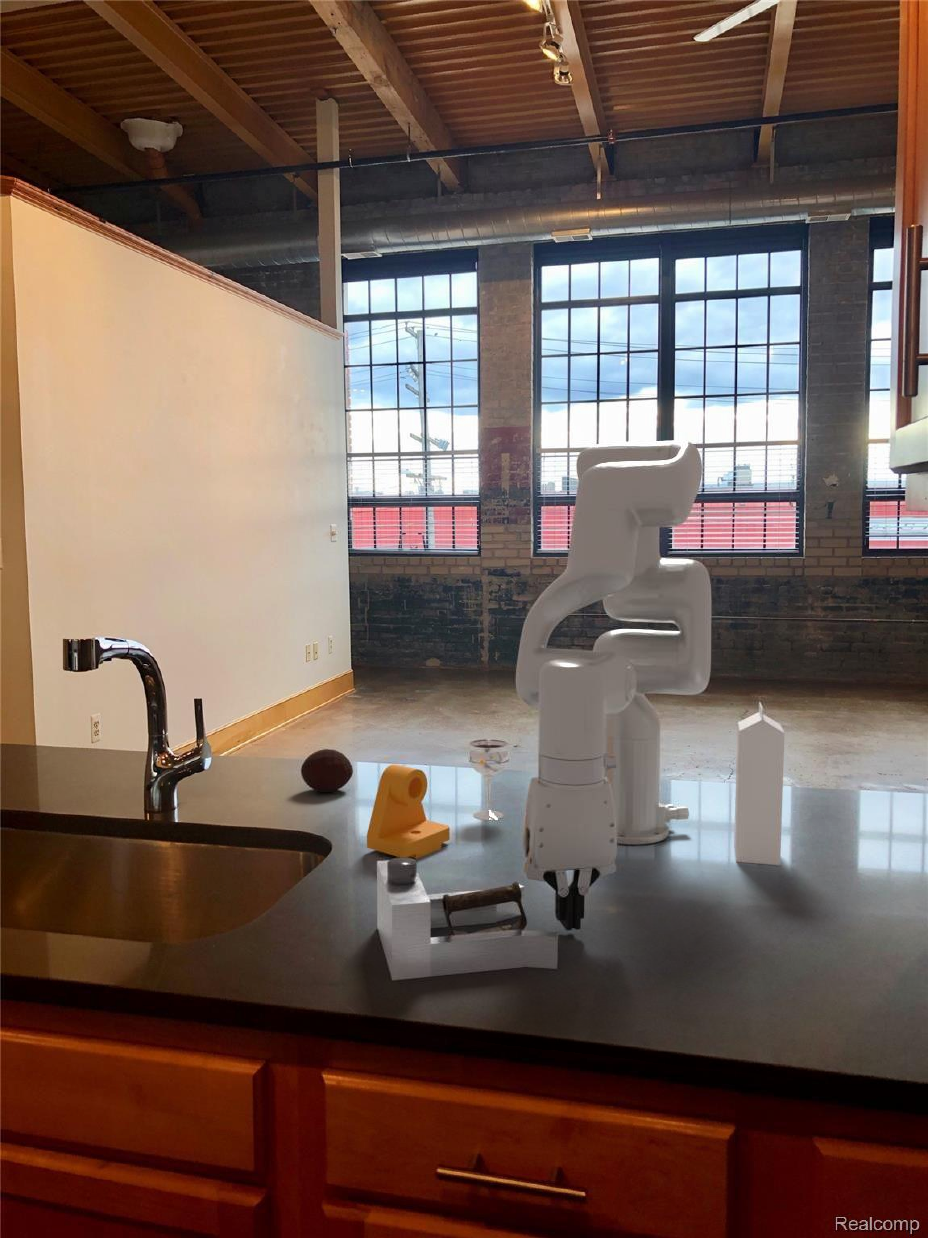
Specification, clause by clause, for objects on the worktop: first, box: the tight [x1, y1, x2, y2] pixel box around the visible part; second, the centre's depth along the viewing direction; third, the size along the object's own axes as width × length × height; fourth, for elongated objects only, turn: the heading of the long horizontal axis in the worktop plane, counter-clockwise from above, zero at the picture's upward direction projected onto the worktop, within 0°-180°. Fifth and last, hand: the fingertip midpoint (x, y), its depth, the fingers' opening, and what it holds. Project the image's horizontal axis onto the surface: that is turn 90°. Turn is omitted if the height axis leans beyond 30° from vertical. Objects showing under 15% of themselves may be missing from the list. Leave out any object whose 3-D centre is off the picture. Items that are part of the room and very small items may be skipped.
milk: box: [733, 701, 785, 866], centre depth 129 cm, size 6×6×22 cm
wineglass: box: [467, 738, 510, 821], centre depth 149 cm, size 7×7×12 cm
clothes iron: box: [442, 881, 528, 936], centre depth 99 cm, size 7×11×10 cm, turn 108°
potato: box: [300, 748, 354, 793], centre depth 163 cm, size 8×9×8 cm
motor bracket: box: [376, 857, 559, 981], centre depth 101 cm, size 18×15×10 cm
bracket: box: [366, 764, 451, 860], centre depth 133 cm, size 11×7×12 cm, turn 142°
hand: (569, 925), depth 104 cm, fingers closed
